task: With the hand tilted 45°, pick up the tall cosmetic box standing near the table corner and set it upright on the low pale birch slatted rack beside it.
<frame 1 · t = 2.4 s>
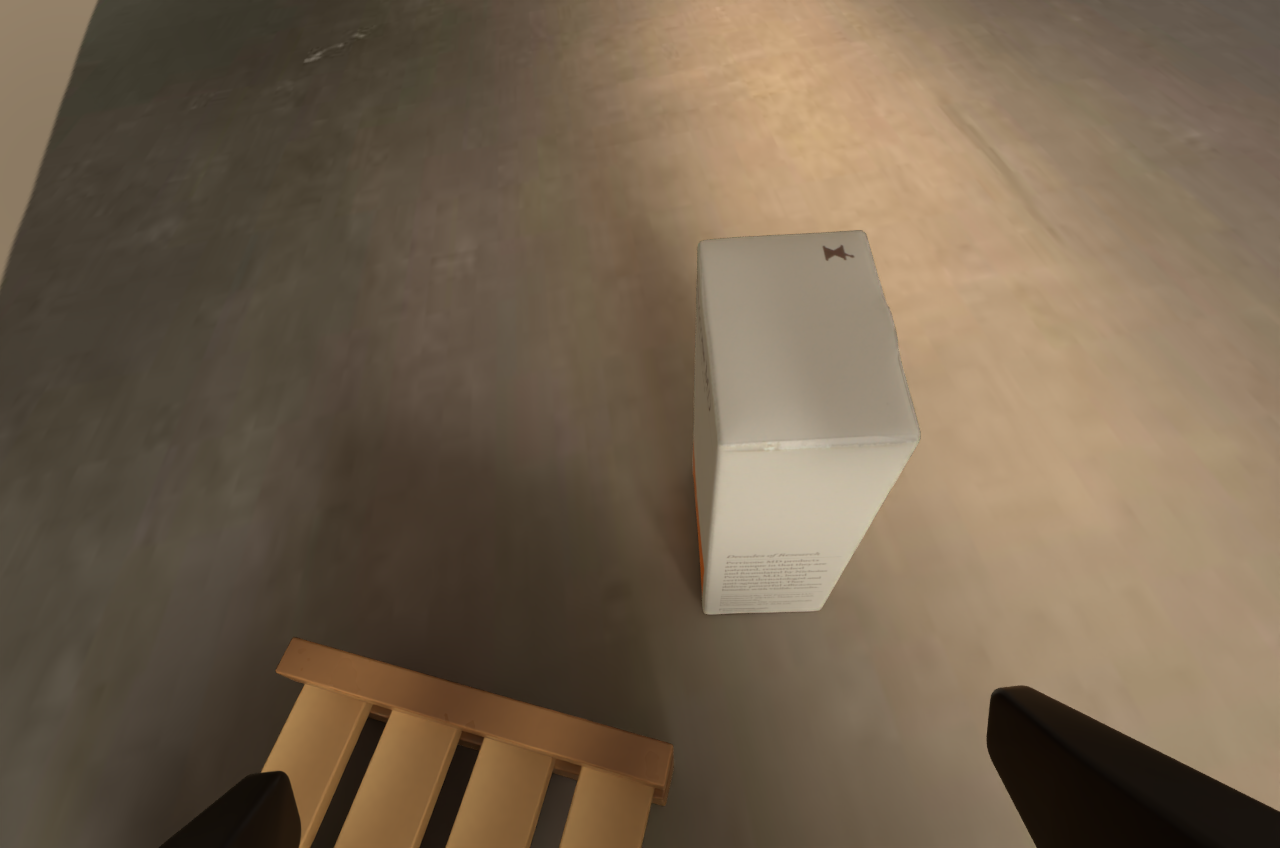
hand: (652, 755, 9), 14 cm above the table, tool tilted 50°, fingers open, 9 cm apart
cosmetic box: (751, 539, 25), on the table
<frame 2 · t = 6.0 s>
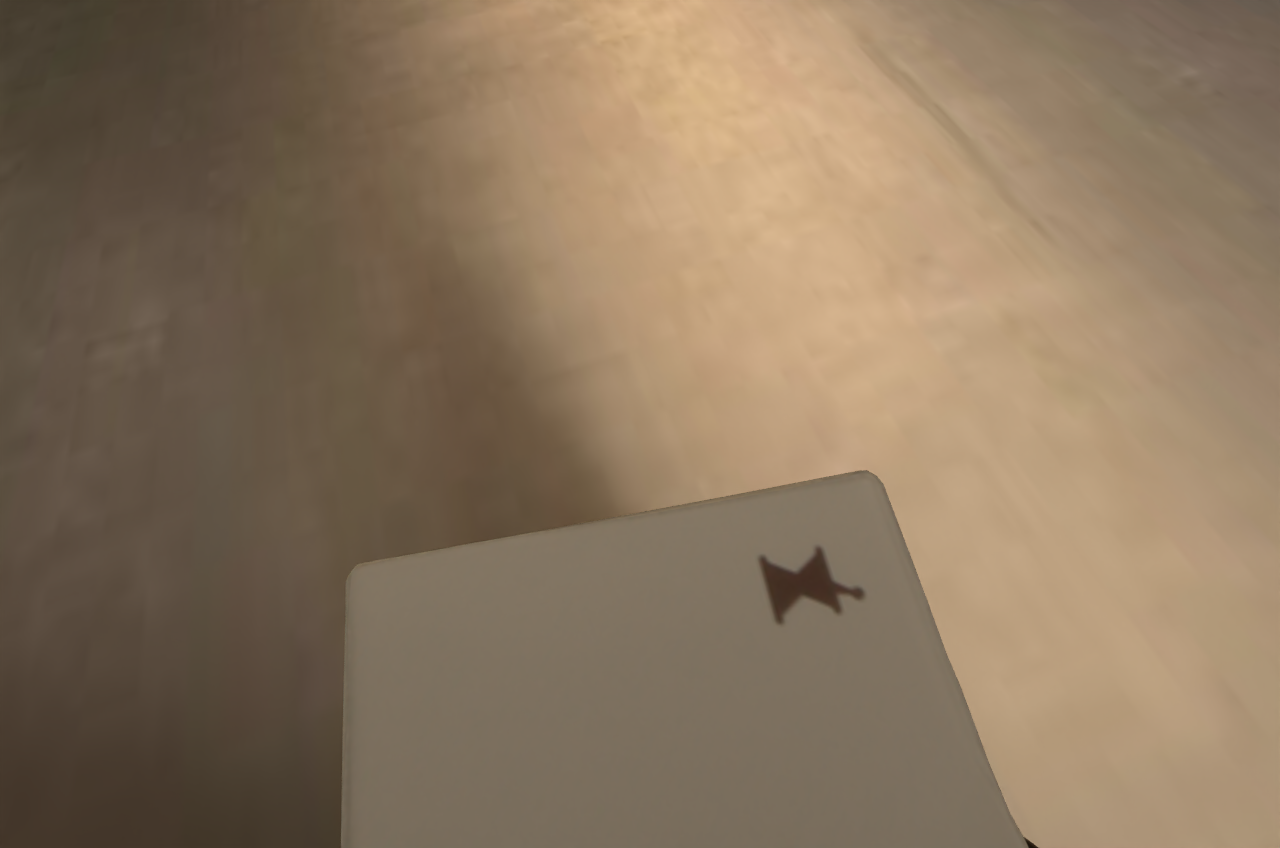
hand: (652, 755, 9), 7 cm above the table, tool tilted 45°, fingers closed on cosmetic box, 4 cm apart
cosmetic box: (650, 843, 14), on the table, touching gripper
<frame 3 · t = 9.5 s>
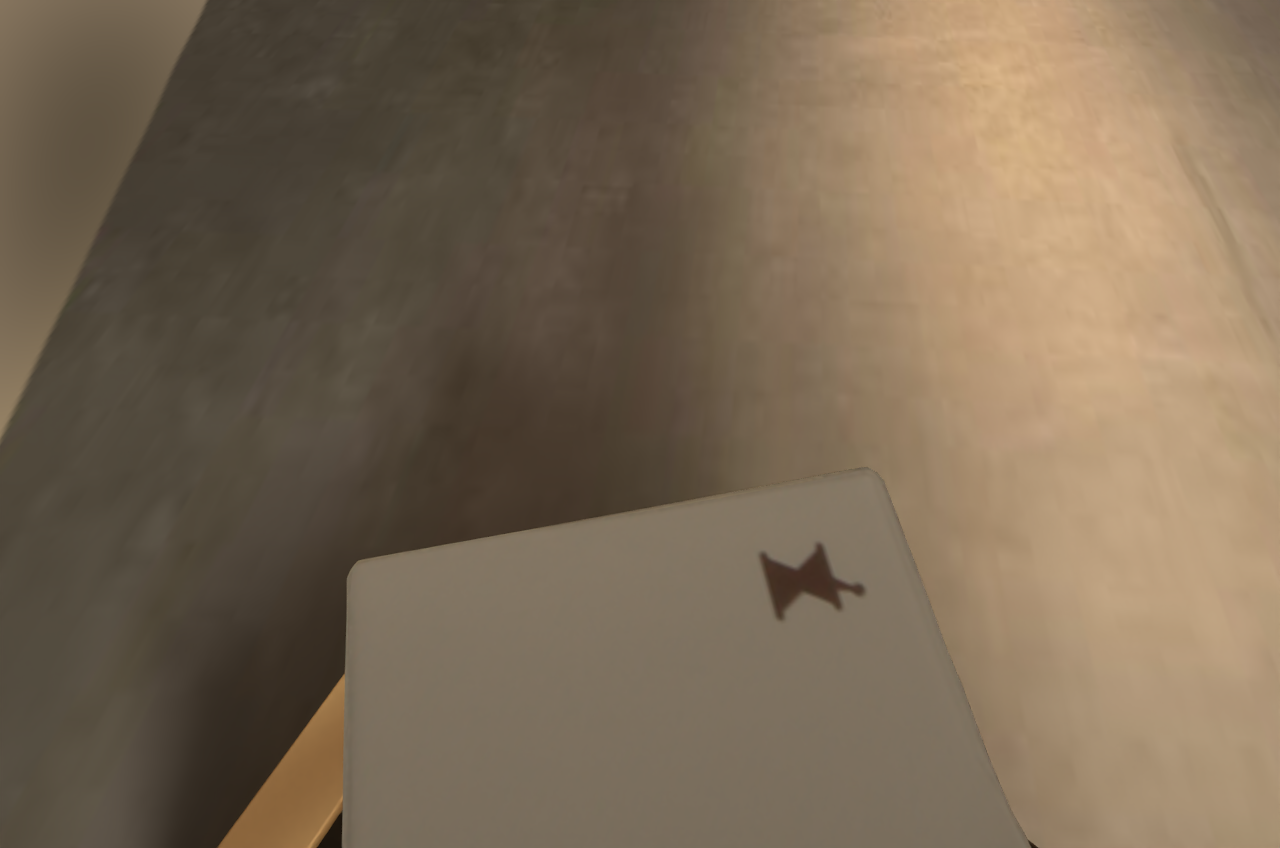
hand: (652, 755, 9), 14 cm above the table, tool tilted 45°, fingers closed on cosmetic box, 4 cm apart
cosmetic box: (651, 842, 14), point 6 cm above the table, touching gripper
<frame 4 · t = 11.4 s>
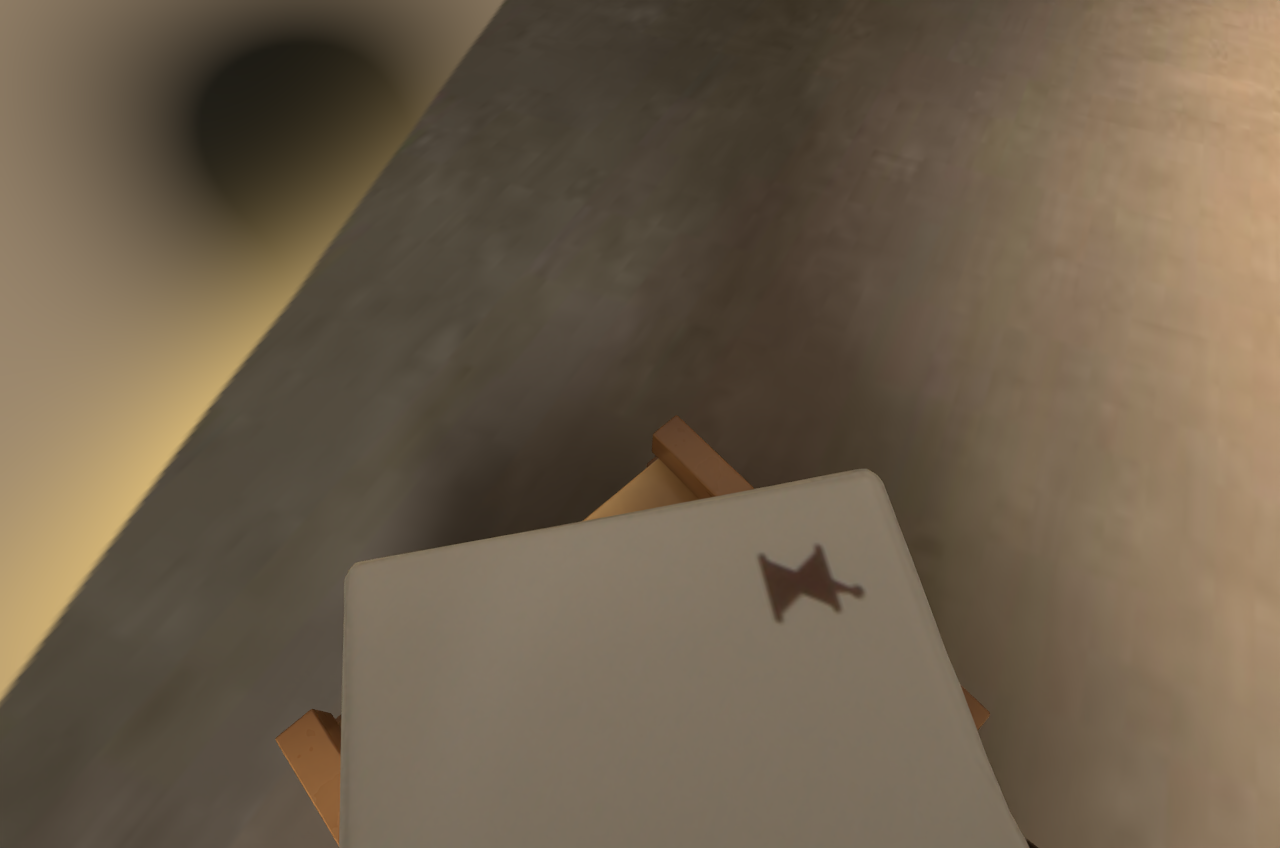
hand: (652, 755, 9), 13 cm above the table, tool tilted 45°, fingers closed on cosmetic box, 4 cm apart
cosmetic box: (651, 843, 14), point 5 cm above the table, touching gripper
rack: (636, 737, 20), on the table
when the fingers open (11 cm above the table, at t = 12.8 s): cosmetic box stays where it is, resting on rack.
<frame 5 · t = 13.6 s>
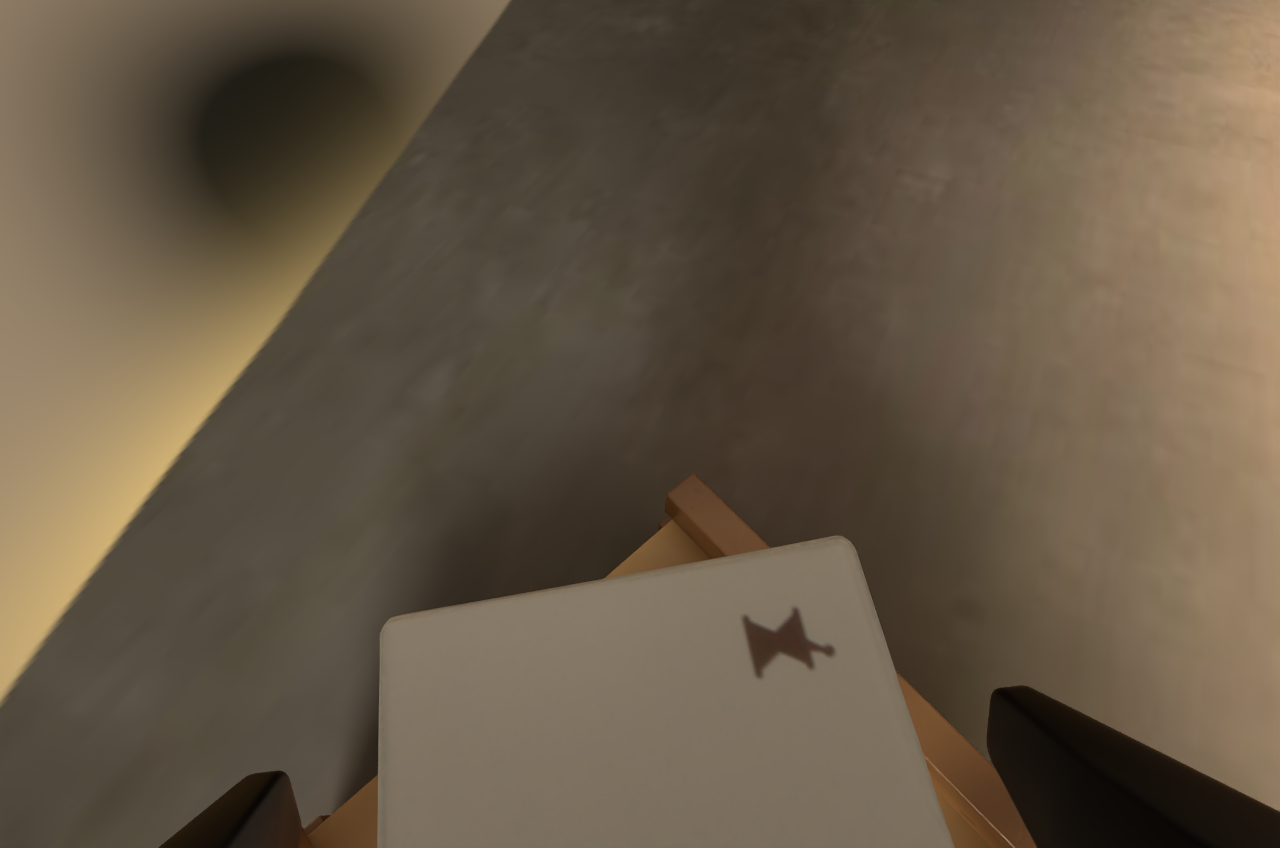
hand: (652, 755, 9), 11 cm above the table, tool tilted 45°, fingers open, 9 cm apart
rack: (648, 834, 18), on the table
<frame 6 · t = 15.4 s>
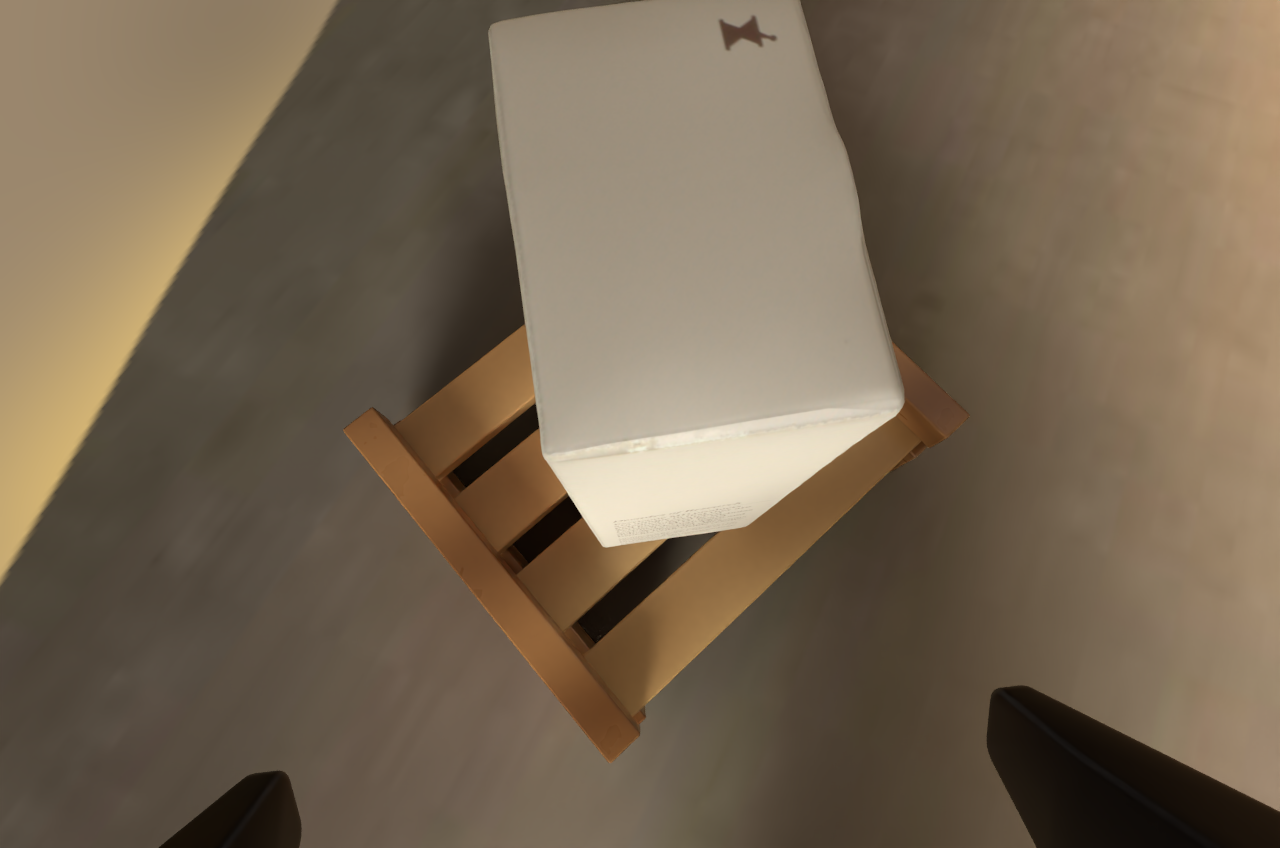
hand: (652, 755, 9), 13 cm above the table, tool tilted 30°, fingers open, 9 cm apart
cosmetic box: (657, 441, 20), point 3 cm above the table, touching rack
rack: (654, 460, 23), on the table
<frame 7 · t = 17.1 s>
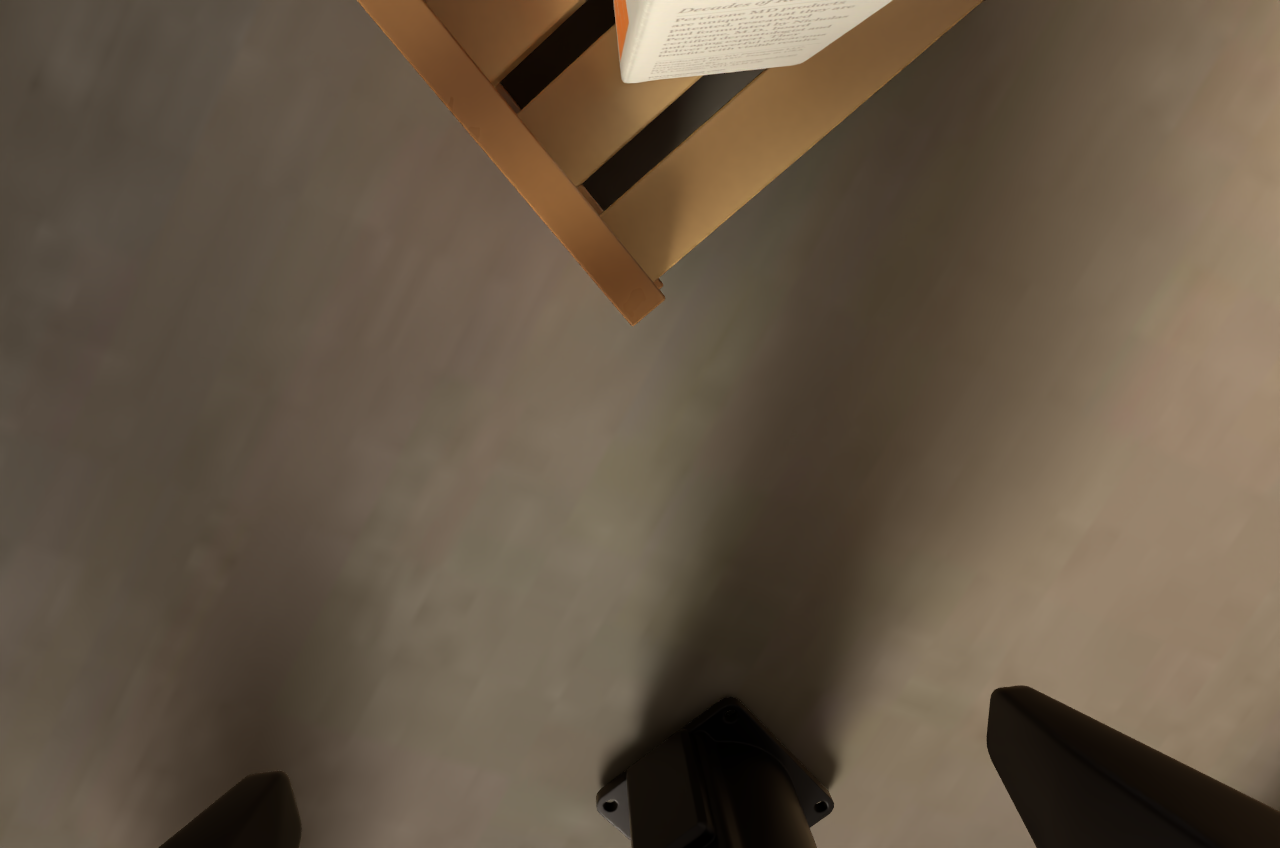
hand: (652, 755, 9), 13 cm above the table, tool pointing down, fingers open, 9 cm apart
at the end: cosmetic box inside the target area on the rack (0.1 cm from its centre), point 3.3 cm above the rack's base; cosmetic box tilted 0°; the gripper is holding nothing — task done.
